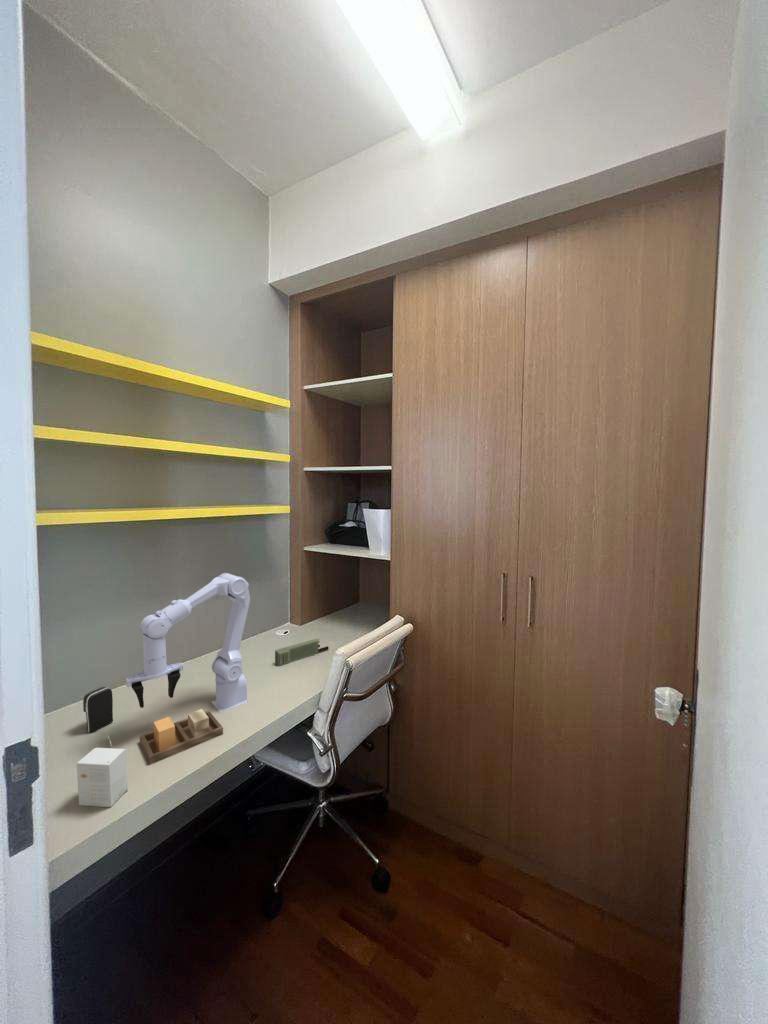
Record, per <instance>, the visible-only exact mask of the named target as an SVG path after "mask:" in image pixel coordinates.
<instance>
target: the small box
mask: <svg viewBox="0 0 768 1024" xmlns="http://www.w3.org/2000/svg"><path fill="white" fill-rule="evenodd" d="M126 752H127V751H126V748H113V747H110V748H109V747H95V748H93V749H92V750H91V751H89V753H86V755H85V756H84V757H83V758H81V759H80V760H79V761H77V762H76V774H77V778H76V779H77V791H78V805H79V806H86V807H87V806H88V807H102V808H103V807H104V808H112V807H113V806H114V805H115V804H116V802H117V801H118V800H119V799H120V798H121V797H122V795H124V794H125V792H127V790H128V786H129V785H128V770H127V769H128V767H127V753H126Z"/></svg>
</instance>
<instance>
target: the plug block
mask: <svg viewBox="0 0 768 1024" xmlns="http://www.w3.org/2000/svg"><path fill="white" fill-rule="evenodd" d="M173 723H174V722H173V720H172V719H171V716H166V717H164V718H162V719H158V720H156V721H153V731H154V743H155V745H156V747H157V749H158V751H162V750H164V749H167V748H169V747H171V746H174V745H176V743H175V725H174V724H173Z"/></svg>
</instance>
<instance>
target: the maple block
mask: <svg viewBox="0 0 768 1024" xmlns="http://www.w3.org/2000/svg"><path fill="white" fill-rule="evenodd" d="M187 718H188V730H189V732H190V733H191V735H192V736H193V738H194V737H196V736H199V735H201V734H204V733H206V732H208V731H209V717H208V716H207V715H206V713H205V710H203V708H200V709H198V710H195V711H192V712H189V713H187Z"/></svg>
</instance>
